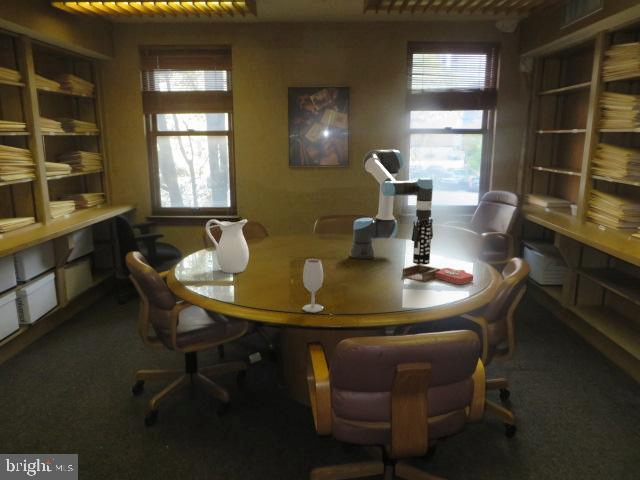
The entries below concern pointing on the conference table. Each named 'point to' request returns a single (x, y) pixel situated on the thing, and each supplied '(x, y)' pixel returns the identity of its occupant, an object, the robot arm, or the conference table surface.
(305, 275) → the wineglass
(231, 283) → the conference table surface
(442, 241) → the conference table surface
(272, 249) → the conference table surface
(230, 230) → the pitcher
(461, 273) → the plaque
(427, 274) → the walnut tray
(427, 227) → the spotted tube
